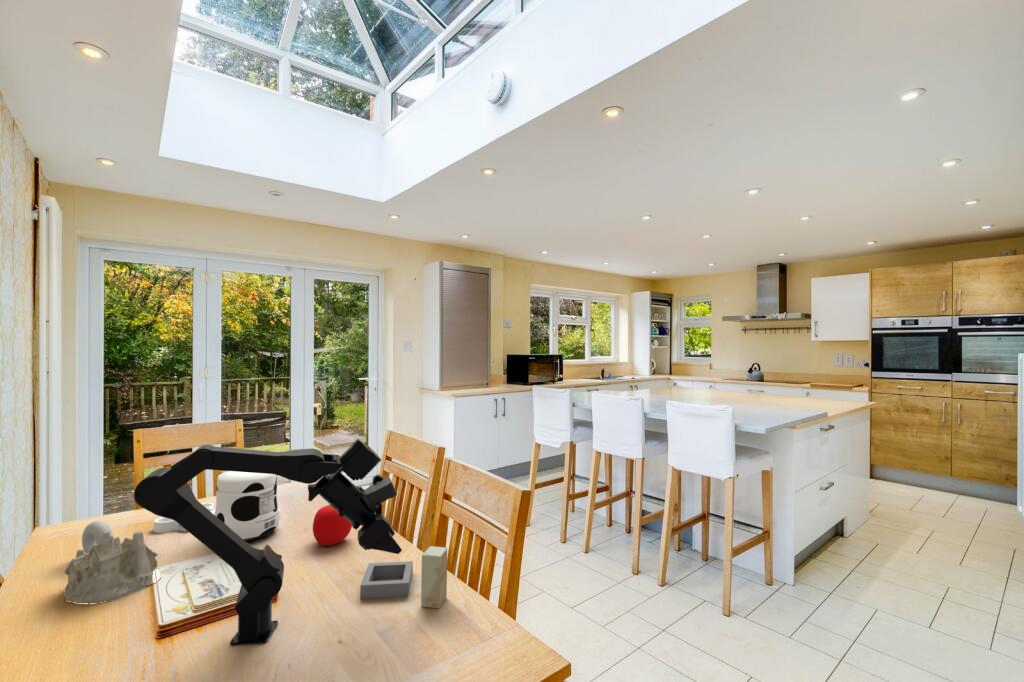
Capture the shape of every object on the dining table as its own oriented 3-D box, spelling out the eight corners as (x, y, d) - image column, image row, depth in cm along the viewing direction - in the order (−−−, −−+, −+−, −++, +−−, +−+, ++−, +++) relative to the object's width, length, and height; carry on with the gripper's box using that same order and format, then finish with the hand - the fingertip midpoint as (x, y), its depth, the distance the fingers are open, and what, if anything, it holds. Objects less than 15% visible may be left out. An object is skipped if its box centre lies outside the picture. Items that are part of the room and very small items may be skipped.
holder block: (408, 596, 105) (408, 582, 105) (360, 598, 104) (360, 585, 104) (412, 573, 115) (412, 561, 115) (368, 575, 114) (368, 563, 114)
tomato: (303, 548, 129) (303, 508, 129) (327, 533, 139) (327, 496, 139) (337, 552, 127) (337, 512, 127) (358, 536, 137) (359, 499, 137)
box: (439, 609, 100) (439, 557, 100) (420, 606, 101) (420, 555, 101) (447, 596, 105) (447, 546, 105) (429, 594, 106) (429, 545, 106)
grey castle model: (169, 580, 111) (165, 516, 111) (77, 616, 97) (72, 543, 97) (143, 566, 120) (139, 507, 120) (55, 597, 106) (51, 531, 106)
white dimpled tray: (179, 537, 136) (142, 531, 140) (232, 516, 153) (197, 510, 158) (179, 526, 136) (142, 520, 140) (232, 505, 153) (198, 500, 158)
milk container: (219, 527, 143) (220, 468, 143) (282, 520, 149) (283, 463, 149) (204, 551, 127) (205, 484, 127) (276, 542, 133) (277, 478, 133)
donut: (78, 559, 121) (79, 520, 121) (94, 553, 125) (95, 516, 125) (100, 566, 117) (100, 526, 117) (116, 561, 121) (116, 522, 121)
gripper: (379, 479, 91) (433, 529, 95) (369, 457, 108) (415, 500, 112) (334, 524, 88) (392, 574, 92) (331, 494, 105) (380, 538, 109)
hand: (396, 543), depth 101 cm, fingers open, 9 cm apart
